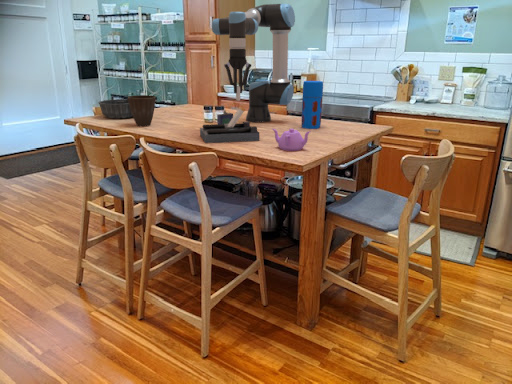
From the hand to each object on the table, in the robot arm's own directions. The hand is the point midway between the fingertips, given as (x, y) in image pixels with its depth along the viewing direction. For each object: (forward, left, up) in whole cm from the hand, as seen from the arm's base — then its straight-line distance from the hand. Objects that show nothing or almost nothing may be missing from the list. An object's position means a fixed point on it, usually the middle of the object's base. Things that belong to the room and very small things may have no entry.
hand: (238, 100), depth 199 cm
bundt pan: (+58, -78, -19) cm, 99 cm away
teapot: (-18, +27, -19) cm, 38 cm away
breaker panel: (+5, 0, -18) cm, 19 cm away
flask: (+3, -20, -19) cm, 27 cm away
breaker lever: (+5, 0, -14) cm, 14 cm away
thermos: (-46, -19, -19) cm, 53 cm away
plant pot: (+45, -44, -19) cm, 65 cm away
